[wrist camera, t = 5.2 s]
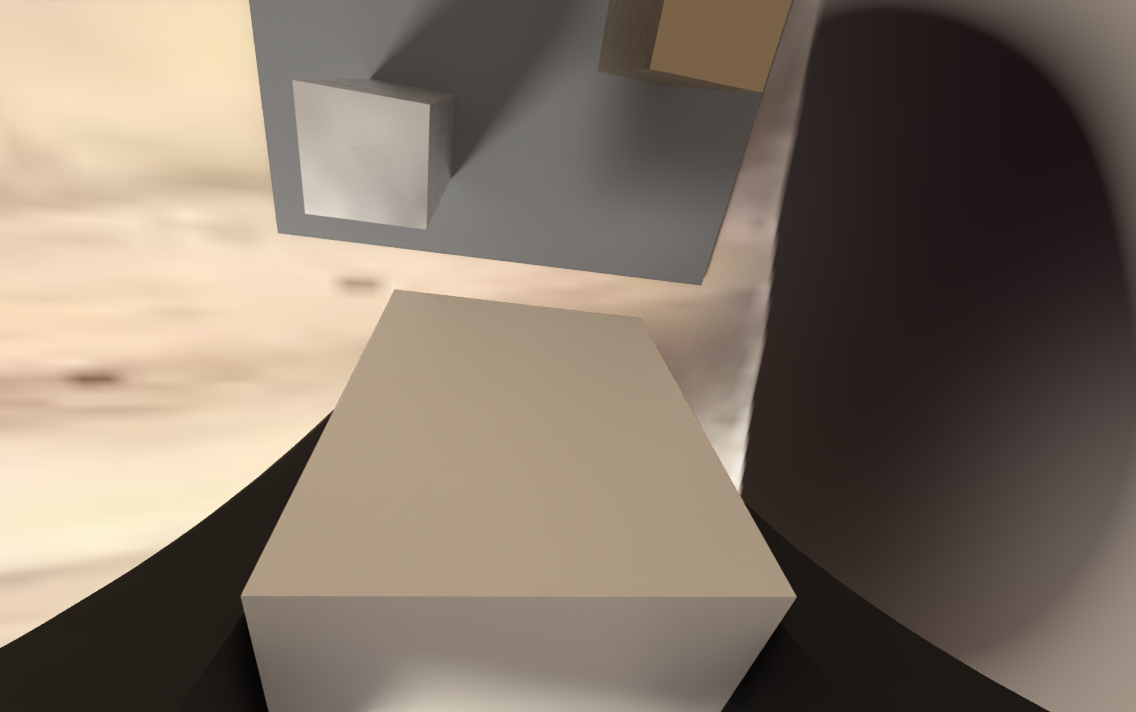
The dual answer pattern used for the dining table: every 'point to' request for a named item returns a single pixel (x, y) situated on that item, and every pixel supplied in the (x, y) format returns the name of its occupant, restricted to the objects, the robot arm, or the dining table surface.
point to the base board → (518, 132)
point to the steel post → (373, 149)
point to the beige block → (511, 529)
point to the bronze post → (693, 42)
